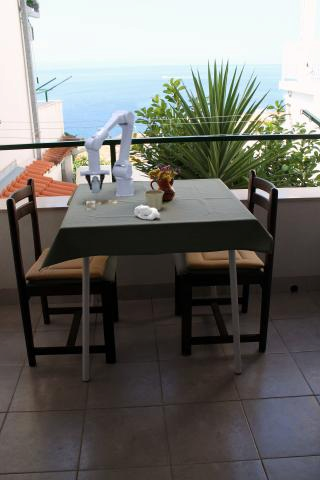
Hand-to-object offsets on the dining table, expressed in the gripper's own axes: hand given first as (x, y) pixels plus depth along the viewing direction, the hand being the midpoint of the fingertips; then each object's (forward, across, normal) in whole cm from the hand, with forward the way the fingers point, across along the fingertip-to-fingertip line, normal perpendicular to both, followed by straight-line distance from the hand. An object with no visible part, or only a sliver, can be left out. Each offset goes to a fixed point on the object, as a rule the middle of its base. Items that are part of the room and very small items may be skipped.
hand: (96, 189), depth 250 cm
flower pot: (+8, +28, -16) cm, 33 cm away
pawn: (+2, 0, 0) cm, 2 cm away
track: (+7, +2, 0) cm, 8 cm away
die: (+8, -3, -10) cm, 13 cm away
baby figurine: (+8, +24, -28) cm, 37 cm away
